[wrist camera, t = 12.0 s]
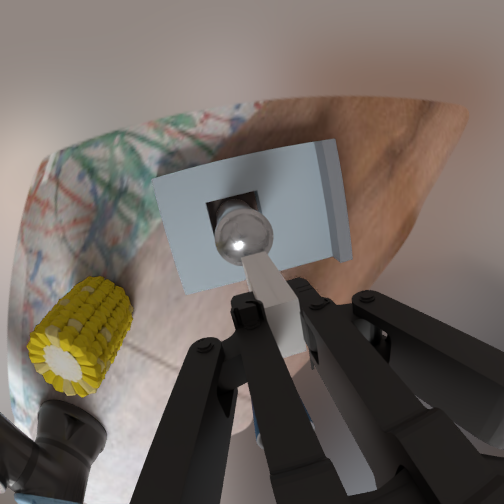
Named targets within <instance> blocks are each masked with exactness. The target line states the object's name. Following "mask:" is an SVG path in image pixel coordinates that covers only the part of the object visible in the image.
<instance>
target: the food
mask: <svg viewBox="0 0 504 504" xmlns="http://www.w3.org/2000/svg"><path fill="white" fill-rule="evenodd" d="M114 285H115V283H113V282H111V281H110V280H108V279H106V280H104V277H101V276H98V277H91V276H89V277H87V278H86V279H85V280H84V281H82V282H79V283H78V284H76V285H75V286H74V288H73V289H71V291H70V292H69V293H67V294H66V295H65V296H64V297H63V298H62V299H59V301H58V303H57V304H55V305H54V307H53V308H52V310H51V311H49V312H48V314H47V315H46V316H45V318H43V319H42V321H41V322H40V324H38V325H36V327H35V329H34V331H33V332H31V333H30V341H29V342H28V344H27V346H26V347H27V348H28V350H29V353H28V354H29V358H30V360H31V362H32V363H34V366H35V369H36V372H38V373H40V374H41V375H43V377H44V379H45V381H46V382H47V383H49V384H52V385H53V387H54V389H55V390H56V391H59V392H65V394H66V395H67V396H72V395H76V393H77V394H78V395H79V396H80V397H82V398H83V397H85V396H87V395H89V394H91V393H96V391H97V388H99V387H100V384H101V382H102V380H103V379H105V374H106V371H108V370H109V368H110V365H111V364H112V363H113V362H114V359H115V356H117V351H118V350H120V346H122V342H123V339H124V338H125V337H126V334H127V331H128V330H130V327H131V323H132V320H133V317H132V312H133V309H134V308H133V307H132V306H131V304H130V300H129V297H128V296H127V295H125V294H126V293H125V291H124V289H123V288H122V287H119V286H115V287H114Z"/></svg>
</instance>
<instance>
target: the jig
mask: <svg viewBox="0 0 504 504" xmlns="http://www.w3.org/2000/svg"><path fill="white" fill-rule="evenodd" d="M151 181H152V185H153V188H154V192H155V196H156V200H157V203H158V207H159V211H160V214H161V218H162V221H163V225H164V228H165V231H166V235H167V238H168V241H169V245H170V248H171V251H172V255H173V258H174V261H175V264H176V267H177V270H178V273H179V276H180V279H181V282H182V285H183V288H184V291H185V294H186V295H188V294H192V293H196V292H200V291H204V290H208V289H212V288H216V287H220V286H224V285H228V284H232V283H236V282H240V281H243V280H246V276H245V272H244V268H243V266H236V265H233V264H231V263H229V262H227V261H226V260H224V259H223V258H222V257H221V255H220V254H219V252H218V251H217V248H216V245H215V234H214V230H213V226H212V222H211V219H210V215H209V211H208V207H207V202H211V201H215V200H218V199H222V198H226V197H231V196H235V195H239V194H243V193H247V192H251V191H254V194H255V198H256V203H257V207H258V211H259V212H260V213H262V214H263V215H264V216H265V217H266V218H267V219H268V221H269V222H270V224H271V226H272V229H273V234H274V239H273V244H272V247H271V250H270V251H269V253H268V256H269V257H270V259H271V260H272V262H273V263H274V264H275V266H276V267H277V269H278V270H279V271H281V270H285V269H289V268H292V267H296V266H300V265H303V264H307V263H311V262H314V261H318V260H322V259H325V258H329V257H332V256H333V257H334V258H335V259H337V260H338V261H339V262H340V263H341V262H345V261H348V260H352V259H353V258H352V248H351V238H350V230H349V221H348V214H347V206H346V199H345V192H344V186H343V179H342V173H341V167H340V162H339V156H338V151H337V146H336V140H335V139H329V140H322V141H315V142H309V143H303V144H297V145H292V146H286V147H281V148H275V149H270V150H265V151H260V152H255V153H251V154H246V155H241V156H237V157H232V158H228V159H224V160H220V161H216V162H211V163H207V164H204V165H200V166H196V167H192V168H188V169H185V170H181V171H177V172H174V173H170V174H167V175H163V176H160V177H157V178H153V179H151Z"/></svg>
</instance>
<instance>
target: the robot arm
mask: <svg viewBox="0 0 504 504" xmlns="http://www.w3.org/2000/svg"><path fill="white" fill-rule="evenodd" d="M241 260H242V264H243V268H244V272H245V276H246V280H247V284H248V288H249V292H247V293H243V294H240V295H236V296H233V298H232V300H231V306H232V308H231V316H232V319H233V322H234V326H235V329H236V330H235V332H234V334H233V335H232V336H231V337H229V338H228V339H226V340H224V341H222V342H221V341H220V340H219V339H217V338H214V337H207V338H202V339H200V340H198V341H196V342H195V343H193V344H192V345H191V347H190V348H189V350H188V353H187V355H186V358H185V360H184V362H183V365H182V367H181V370H180V372H179V375H178V377H177V380H176V382H175V385H174V388H173V390H172V393H171V395H170V398H169V400H168V403H167V405H166V408H165V410H164V413H163V416H162V418H161V421H160V423H159V426H158V428H157V431H156V434H155V436H154V439H153V442H152V444H151V447H150V449H149V452H148V455H147V457H146V460H145V463H144V465H143V468H142V471H141V473H140V476H139V479H138V482H137V484H136V487H135V490H134V493H133V495H132V498H131V501H130V504H220V499H221V493H222V487H223V481H224V475H225V469H226V463H227V457H228V450H229V444H230V438H231V432H232V426H233V420H234V413H235V407H236V401H237V394H238V388H237V387H239V386H241V385H243V384H245V383H247V382H248V387H249V391H250V395H251V399H252V403H253V408H254V412H255V416H256V420H257V424H258V428H259V432H260V436H261V440H262V444H263V448H264V451H265V455H266V459H267V463H268V467H269V471H270V480H271V484H272V488H273V492H274V496H275V499H276V502H277V504H504V457H497V456H491V455H485V454H480V453H479V452H478V451H477V449H476V448H475V447H474V446H473V445H472V443H471V442H470V441H469V440H468V439H467V438H466V436H465V435H464V434H463V433H462V432H461V431H460V429H459V428H458V427H457V426H456V425H455V424H454V422H455V423H456V424H458V425H459V426H461V427H462V428H463V429H465V430H466V431H468V432H469V433H471V434H472V435H474V436H475V437H477V438H478V439H480V440H482V441H483V442H485V443H487V444H489V445H491V446H494V447H496V448H499V449H503V450H504V352H502V351H501V350H499V349H497V348H494V347H492V346H490V345H488V344H486V343H484V342H482V341H480V340H478V339H476V338H474V337H472V336H470V335H468V334H466V333H464V332H462V331H460V330H458V329H455V328H453V327H451V326H449V325H447V324H445V323H443V322H441V321H439V320H437V319H435V318H432V317H430V316H428V315H426V314H424V313H422V312H419V311H418V310H416V309H413V308H411V307H409V306H407V305H405V304H402V303H400V302H398V301H396V300H394V299H392V298H390V297H388V296H386V295H384V294H381V293H379V292H376V291H372V290H365V291H361V292H358V293H356V294H355V295H353V297H352V303H350V304H343V305H336V304H335V303H334V302H333V301H332V300H331V299H329V298H325V297H321V296H320V295H319V294H318V293H317V292H316V290H315V289H314V288H313V287H312V286H311V285H310V283H309V282H308V281H307V280H305V279H303V278H300V277H299V278H295V279H292V280H288V281H286V280H285V279H284V277H283V276H282V274H281V273H280V272H279V270H278V269H277V267H276V266H275V264H274V263H273V262H272V260H271V259H270V257H269V256H268V254H267V253H266V252H265V251H264V252H260V253H256V254H253V255H249V256H245V257H241ZM382 330H383V331H385V332H386V333H387V337H386V336H384V335H382ZM305 342H306V344H307V346H308V348H309V354H310V361H311V368H312V370H313V369H314V365H315V367H316V369H317V371H318V373H319V374H320V376H321V378H322V380H323V382H324V384H325V386H326V387H327V389H328V391H329V393H330V395H331V397H332V398H333V400H334V402H335V404H336V406H337V407H338V409H339V411H340V413H341V415H342V417H343V419H344V420H345V422H346V424H347V425H348V428H349V430H350V431H351V433H352V435H353V437H354V439H355V441H356V442H357V444H358V446H359V448H360V450H361V452H362V453H363V455H364V457H365V459H366V461H367V463H368V464H369V466H370V468H371V470H372V472H373V474H374V477H375V482H376V487H377V490H375V491H371V492H367V493H361V494H356V495H352V496H347V493H346V491H345V489H344V487H343V485H342V483H341V481H340V478H339V476H338V474H337V472H336V470H335V467H334V465H333V463H332V462H331V460H330V459H329V458H327V457H326V456H325V454H324V452H323V450H322V447H321V445H320V443H319V440H318V438H317V436H316V434H315V431H314V429H313V427H312V424H311V422H310V420H309V418H308V415H307V413H306V411H305V408H304V406H303V404H302V401H301V399H300V397H299V394H298V392H297V390H296V387H295V385H294V383H293V380H292V378H291V376H290V373H289V371H288V369H287V366H286V364H285V362H284V359H283V358H285V357H288V356H292V355H295V354H298V353H301V352H304V351H307V350H306V344H305ZM415 395H416V396H417V397H419V398H420V399H421V400H423V401H424V402H426V403H427V404H429V405H430V406H431V407H433V408H432V409H427V408H425V407H424V406H423V404H422V403H421V402H420V401H419V400H418V398H417V397H416V396H415ZM106 440H107V435H106V432H105V430H104V429H103V427H102V426H101V425H100V423H99V422H98V421H97V420H96V419H94V418H93V417H92V416H91V415H89V414H88V413H86V412H85V411H83V410H82V409H80V408H78V407H76V406H74V405H72V404H69V403H66V402H63V401H58V400H49V401H46V402H44V403H43V404H42V406H41V408H40V410H39V412H38V426H37V437H36V440H35V442H34V441H33V440H31V439H30V438H29V437H28V436H27V435H25V434H24V433H23V432H22V431H21V430H20V429H18V428H17V427H16V426H15V425H14V424H13V423H11V422H10V421H9V420H8V419H7V418H6V417H5V416H4V415H3V414H2V413H1V412H0V493H4V492H5V491H6V488H7V487H8V488H10V489H11V490H13V491H14V492H15V494H14V498H15V501H16V502H17V503H19V504H83V502H84V496H85V491H86V486H87V481H88V477H89V472H90V468H91V465H92V464H93V462H94V461H95V460H96V458H97V457H98V455H99V453H101V452H102V451H103V449H104V447H105V444H106Z"/></svg>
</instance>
